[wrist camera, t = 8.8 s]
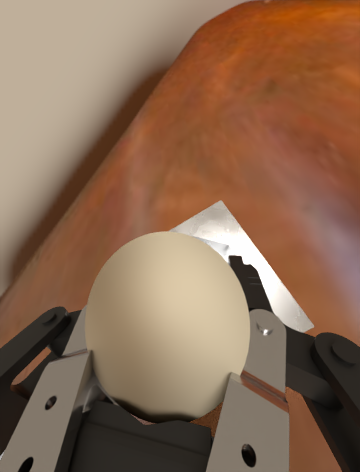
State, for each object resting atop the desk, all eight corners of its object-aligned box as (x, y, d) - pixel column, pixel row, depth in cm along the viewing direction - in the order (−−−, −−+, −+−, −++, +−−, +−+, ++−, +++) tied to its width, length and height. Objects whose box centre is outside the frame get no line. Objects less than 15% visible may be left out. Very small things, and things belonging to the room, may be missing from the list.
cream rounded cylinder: (205, 251, 15) (190, 204, 5) (237, 304, 13) (296, 369, 4) (160, 278, 15) (69, 275, 6) (184, 333, 13) (113, 461, 4)
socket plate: (220, 206, 19) (222, 184, 14) (304, 321, 14) (343, 340, 10) (124, 262, 20) (99, 258, 15) (173, 390, 15) (156, 434, 11)
